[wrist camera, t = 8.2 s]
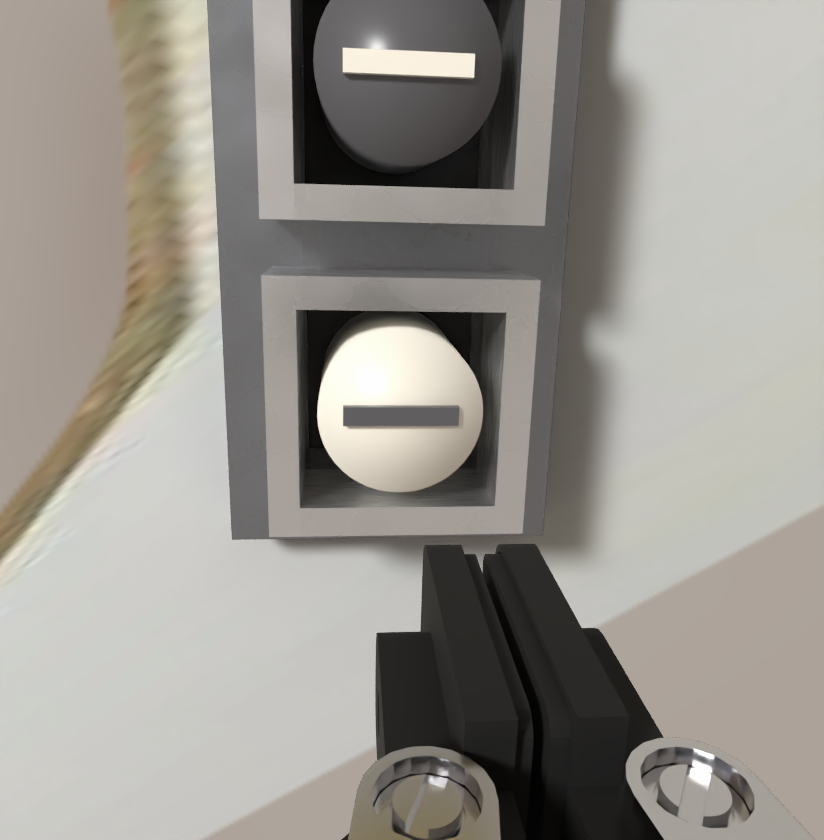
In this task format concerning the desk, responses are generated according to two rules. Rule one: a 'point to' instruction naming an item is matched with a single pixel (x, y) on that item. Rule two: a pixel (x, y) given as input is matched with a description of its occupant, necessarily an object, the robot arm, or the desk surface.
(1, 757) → the desk surface
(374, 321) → the knob ivory
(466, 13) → the knob black
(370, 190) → the mount
